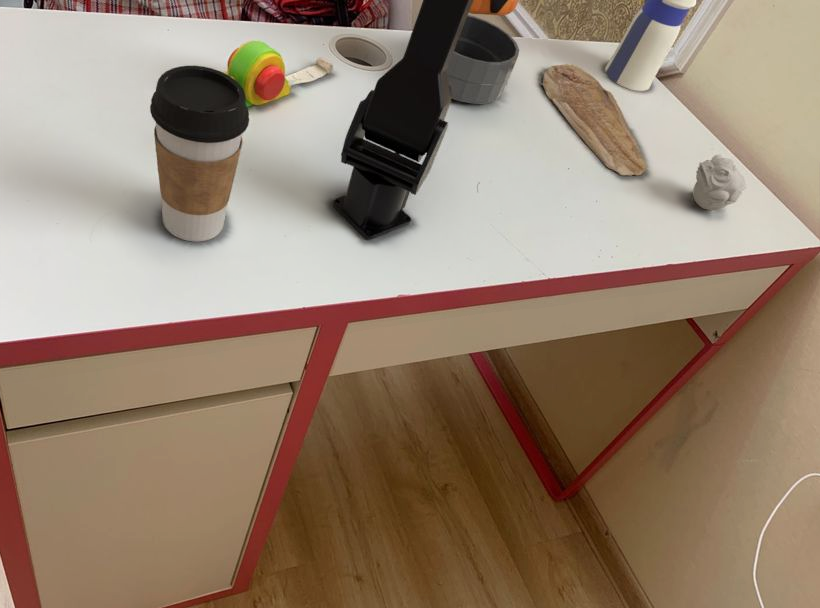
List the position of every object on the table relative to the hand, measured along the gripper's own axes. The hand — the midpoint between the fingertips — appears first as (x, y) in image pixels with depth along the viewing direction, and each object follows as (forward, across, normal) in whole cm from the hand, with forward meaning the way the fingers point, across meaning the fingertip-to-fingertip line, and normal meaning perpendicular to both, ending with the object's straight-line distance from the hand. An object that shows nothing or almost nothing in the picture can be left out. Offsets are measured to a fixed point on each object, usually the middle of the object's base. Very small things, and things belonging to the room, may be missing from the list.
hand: (487, 4), depth 92 cm
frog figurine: (+11, -28, -24) cm, 39 cm away
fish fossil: (+12, -9, -18) cm, 23 cm away
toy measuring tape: (+11, -2, +28) cm, 30 cm away
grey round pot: (+11, 0, 0) cm, 11 cm away
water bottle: (+12, +3, -32) cm, 34 cm away
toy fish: (+1, 0, 0) cm, 1 cm away
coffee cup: (+11, -26, +43) cm, 51 cm away
